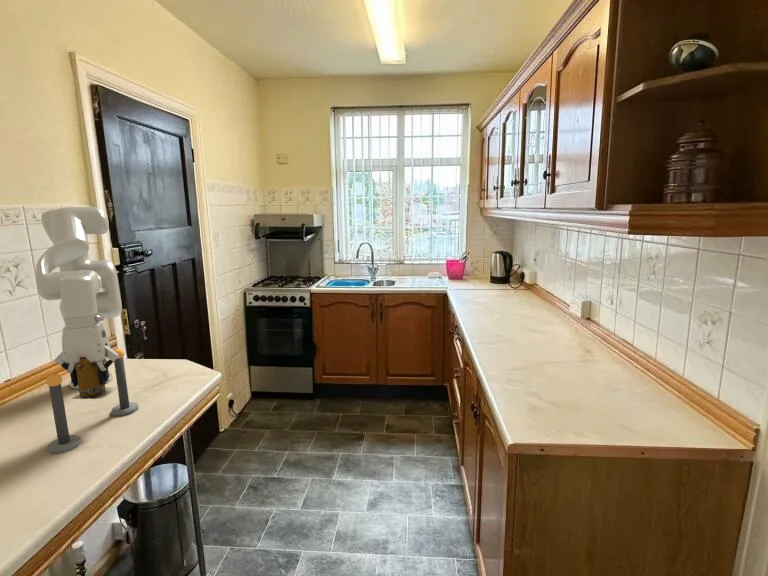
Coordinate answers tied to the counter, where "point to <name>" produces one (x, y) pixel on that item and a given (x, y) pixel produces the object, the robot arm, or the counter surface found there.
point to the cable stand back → (122, 389)
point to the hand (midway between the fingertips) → (91, 383)
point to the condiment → (90, 381)
